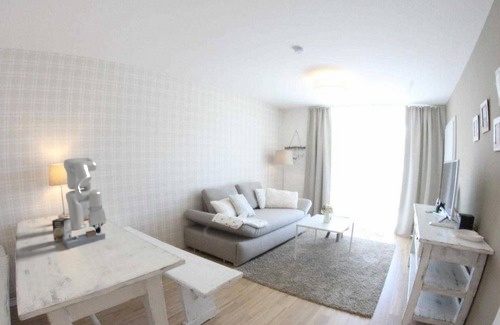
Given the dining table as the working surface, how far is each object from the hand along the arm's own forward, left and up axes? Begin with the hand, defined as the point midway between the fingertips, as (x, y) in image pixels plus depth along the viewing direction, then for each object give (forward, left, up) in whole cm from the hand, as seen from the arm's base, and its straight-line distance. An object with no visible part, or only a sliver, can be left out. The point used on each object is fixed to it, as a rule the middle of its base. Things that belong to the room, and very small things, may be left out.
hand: (98, 232), depth 174 cm
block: (-1, -5, -1) cm, 5 cm away
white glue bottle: (-63, +8, -5) cm, 64 cm away
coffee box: (-17, -18, -5) cm, 25 cm away
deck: (-4, -8, -4) cm, 10 cm away
